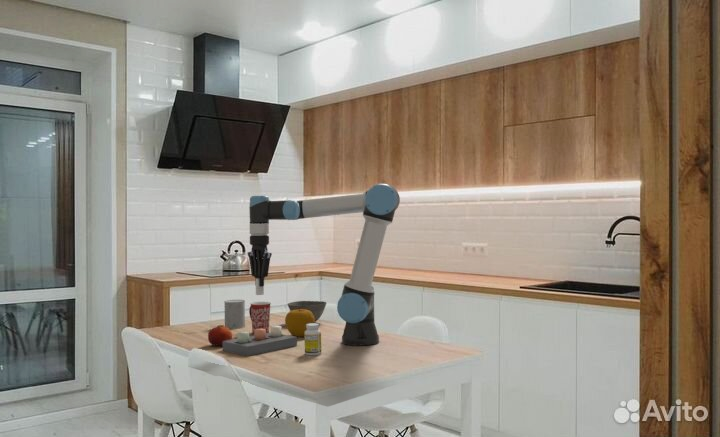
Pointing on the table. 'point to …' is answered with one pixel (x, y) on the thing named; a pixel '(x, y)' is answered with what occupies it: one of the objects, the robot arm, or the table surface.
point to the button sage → (243, 337)
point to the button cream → (276, 331)
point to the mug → (260, 315)
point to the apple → (298, 321)
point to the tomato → (219, 335)
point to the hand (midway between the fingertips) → (259, 294)
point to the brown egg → (260, 334)
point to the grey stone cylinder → (234, 314)
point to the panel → (259, 345)
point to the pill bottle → (312, 339)
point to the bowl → (309, 307)
